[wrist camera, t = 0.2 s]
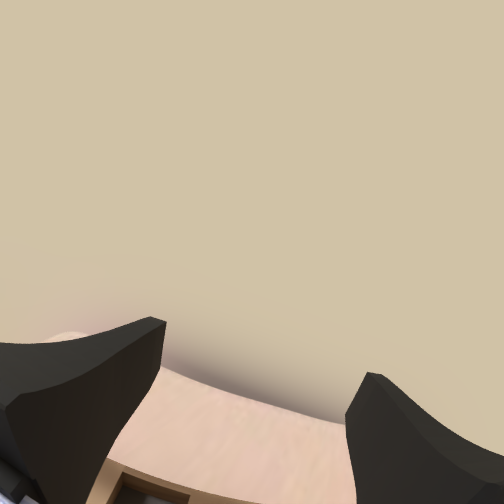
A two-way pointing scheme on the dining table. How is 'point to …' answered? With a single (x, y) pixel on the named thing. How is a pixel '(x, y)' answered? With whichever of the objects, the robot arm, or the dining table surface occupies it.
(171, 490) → the trap board
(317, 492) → the dining table surface
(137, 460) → the dining table surface
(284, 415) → the dining table surface
